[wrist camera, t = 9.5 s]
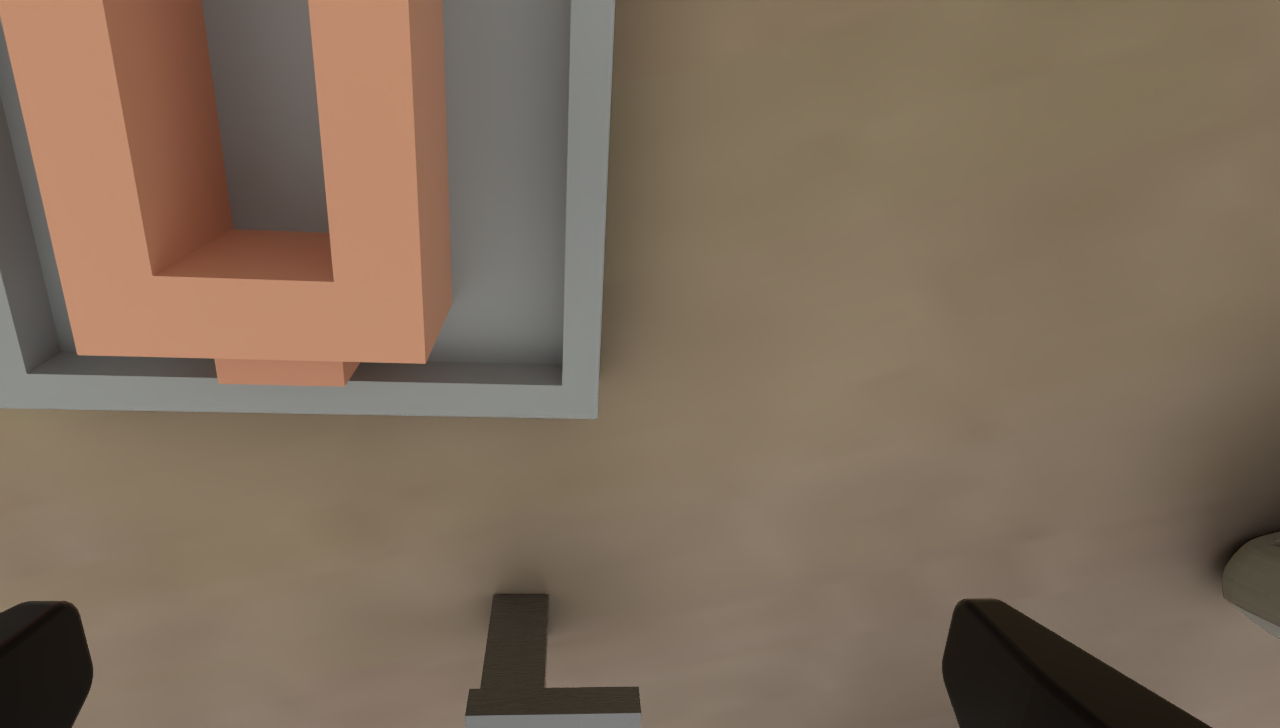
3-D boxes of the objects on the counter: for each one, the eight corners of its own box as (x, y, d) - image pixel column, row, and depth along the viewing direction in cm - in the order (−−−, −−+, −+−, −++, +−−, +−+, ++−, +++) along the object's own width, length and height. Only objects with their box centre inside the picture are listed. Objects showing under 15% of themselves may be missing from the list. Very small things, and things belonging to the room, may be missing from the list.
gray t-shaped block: (626, 636, 23) (637, 760, 19) (485, 637, 22) (466, 764, 19) (629, 594, 22) (641, 712, 18) (484, 594, 22) (464, 715, 18)
